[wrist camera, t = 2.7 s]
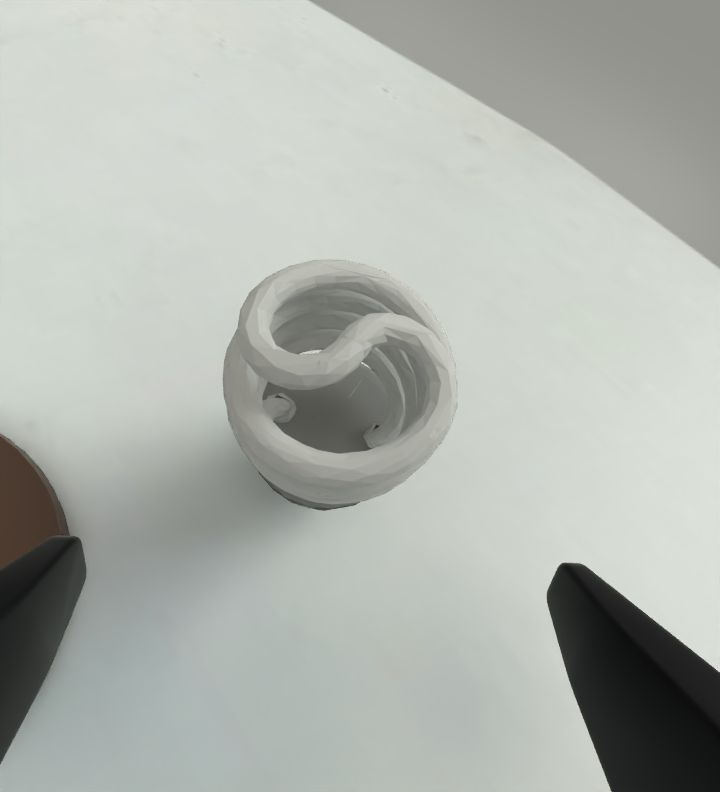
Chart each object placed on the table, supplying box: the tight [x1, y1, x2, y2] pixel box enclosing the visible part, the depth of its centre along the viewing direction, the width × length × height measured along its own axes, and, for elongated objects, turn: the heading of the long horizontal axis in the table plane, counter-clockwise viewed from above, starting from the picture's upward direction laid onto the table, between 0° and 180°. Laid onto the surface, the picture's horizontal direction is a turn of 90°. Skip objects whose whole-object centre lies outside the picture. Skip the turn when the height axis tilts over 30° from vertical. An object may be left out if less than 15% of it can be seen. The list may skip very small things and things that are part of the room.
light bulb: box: [223, 260, 457, 511], centre depth 14 cm, size 6×6×12 cm
